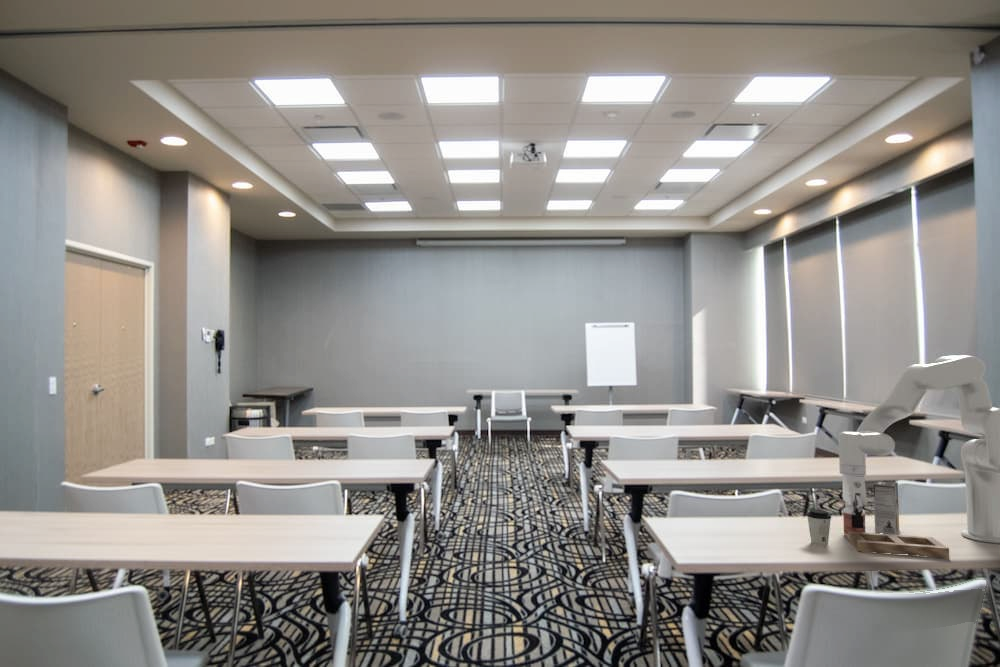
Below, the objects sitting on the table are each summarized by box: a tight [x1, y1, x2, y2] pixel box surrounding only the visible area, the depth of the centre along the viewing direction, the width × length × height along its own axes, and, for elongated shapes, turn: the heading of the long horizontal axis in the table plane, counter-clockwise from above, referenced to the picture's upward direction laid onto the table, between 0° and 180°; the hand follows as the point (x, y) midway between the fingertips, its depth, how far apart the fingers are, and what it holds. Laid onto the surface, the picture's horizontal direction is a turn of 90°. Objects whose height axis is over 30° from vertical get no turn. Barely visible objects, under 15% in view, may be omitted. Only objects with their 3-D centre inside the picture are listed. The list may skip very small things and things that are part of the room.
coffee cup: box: [806, 508, 832, 546], centre depth 188 cm, size 7×7×10 cm
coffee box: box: [873, 480, 900, 535], centre depth 203 cm, size 9×6×16 cm
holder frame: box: [847, 531, 950, 559], centre depth 182 cm, size 23×12×3 cm, turn 74°
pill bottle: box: [842, 501, 866, 537], centre depth 197 cm, size 6×6×11 cm
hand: (854, 524), depth 197 cm, fingers open, 6 cm apart
